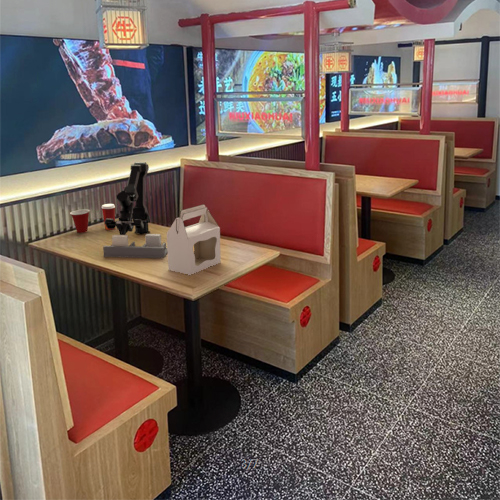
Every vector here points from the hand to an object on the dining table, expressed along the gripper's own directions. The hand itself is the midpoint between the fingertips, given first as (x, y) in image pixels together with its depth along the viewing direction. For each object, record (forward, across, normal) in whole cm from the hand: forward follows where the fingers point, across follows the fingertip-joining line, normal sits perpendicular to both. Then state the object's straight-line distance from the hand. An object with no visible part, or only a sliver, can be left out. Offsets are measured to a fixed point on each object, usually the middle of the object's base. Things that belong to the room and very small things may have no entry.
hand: (121, 238), depth 272 cm
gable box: (+18, -40, +8) cm, 45 cm away
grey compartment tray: (+6, -8, -4) cm, 11 cm away
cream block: (+6, 0, -3) cm, 6 cm away
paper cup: (-26, +21, -36) cm, 49 cm away
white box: (+4, -16, -5) cm, 17 cm away
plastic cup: (-20, +35, -31) cm, 51 cm away
